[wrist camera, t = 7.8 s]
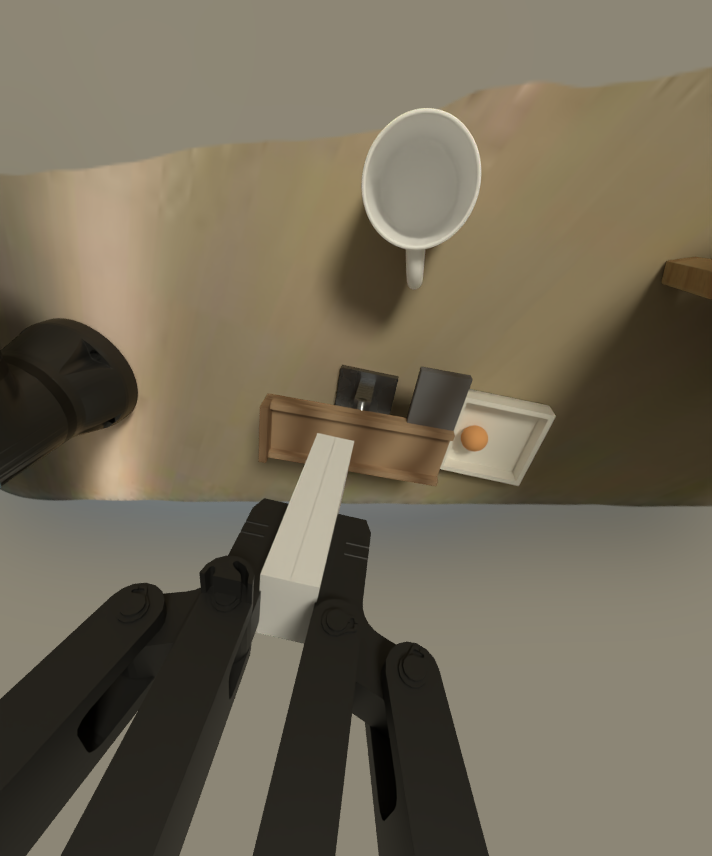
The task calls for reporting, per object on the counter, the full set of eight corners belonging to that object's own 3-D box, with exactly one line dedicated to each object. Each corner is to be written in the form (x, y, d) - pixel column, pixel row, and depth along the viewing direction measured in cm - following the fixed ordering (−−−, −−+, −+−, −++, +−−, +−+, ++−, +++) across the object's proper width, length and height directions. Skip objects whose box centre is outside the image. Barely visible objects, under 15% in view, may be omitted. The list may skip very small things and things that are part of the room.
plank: (266, 446, 43) (258, 461, 40) (269, 339, 36) (261, 349, 33) (434, 475, 43) (437, 492, 41) (470, 375, 36) (476, 388, 34)
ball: (459, 454, 44) (485, 458, 44) (467, 432, 43) (494, 437, 43) (455, 439, 47) (480, 444, 47) (463, 418, 45) (489, 423, 45)
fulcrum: (331, 432, 50) (320, 462, 44) (342, 364, 45) (331, 388, 39) (382, 443, 50) (377, 474, 44) (398, 376, 44) (395, 402, 38)
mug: (453, 279, 38) (464, 301, 29) (374, 278, 39) (361, 300, 30) (470, 131, 32) (491, 104, 23) (375, 135, 33) (360, 110, 24)
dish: (436, 456, 50) (437, 468, 47) (461, 387, 44) (463, 396, 42) (514, 473, 49) (518, 485, 47) (548, 405, 44) (555, 416, 41)
